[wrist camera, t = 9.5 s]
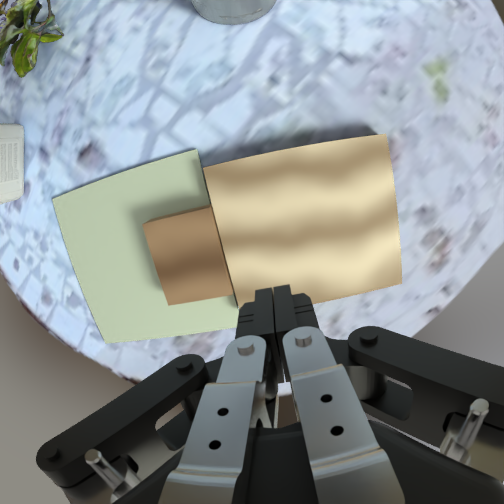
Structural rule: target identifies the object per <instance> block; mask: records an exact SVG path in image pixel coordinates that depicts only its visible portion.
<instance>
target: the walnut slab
mask: <svg viewBox="0 0 504 504" xmlns="http://www.w3.org/2000/svg"><path fill="white" fill-rule="evenodd" d="M142 226H143V229H144V233H145V236H146V239H147V243H148V246H149V249H150V252H151V256H152V259H153V262H154V265H155V268H156V271H157V274H158V277H159V280H160V283H161V286H162V289H163V292H164V295H165V297H166V300H167V303H168V306H170V305H176V304H183V303H189V302H195V301H201V300H206V299H212V298H218V297H224V296H229V295H232V293H233V289H234V288H233V284H232V280H231V277H230V273H229V269H228V265H227V261H226V258H225V254H224V250H223V246H222V242H221V239H220V235H219V231H218V227H217V223H216V219H215V215H214V211H213V207H212V204H209V205H205V206H201V207H196V208H192V209H188V210H184V211H180V212H176V213H172V214H168V215H164V216H160V217H156V218H153V219H150V220H148V221H147V222H145V223H143V224H142Z"/></svg>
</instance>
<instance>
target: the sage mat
mask: <svg viewBox="0 0 504 504" xmlns="http://www.w3.org/2000/svg"><path fill="white" fill-rule="evenodd" d="M52 200H53V204H54V208H55V211H56V215H57V219H58V222H59V225H60V229H61V232H62V235H63V238H64V241H65V244H66V248H67V251H68V253H69V256H70V259H71V262H72V265H73V268H74V270H75V273H76V276H77V278H78V281H79V284H80V286H81V289H82V291H83V294H84V296H85V299H86V301H87V303H88V306H89V308H90V310H91V313H92V315H93V317H94V320H95V322H96V324H97V326H98V328H99V330H100V333H101V335H102V337H103V339H104V341H105V343H117V342H128V341H138V340H147V339H156V338H164V337H172V336H180V335H188V334H195V333H202V332H209V331H216V330H222V329H228V328H235V327H237V323H238V315H239V310H238V306H237V302H236V299H235V295H234V291H233V293H232V295H229V296H224V297H218V298H212V299H206V300H201V301H195V302H189V303H183V304H176V305H170V306H168V303H167V300H166V297H165V295H164V292H163V289H162V286H161V283H160V280H159V277H158V274H157V271H156V268H155V265H154V262H153V259H152V256H151V252H150V249H149V246H148V243H147V239H146V236H145V233H144V229H143V226H142V224H143V223H145V222H147V221H148V220H150V219H153V218H156V217H160V216H164V215H168V214H172V213H176V212H180V211H184V210H188V209H192V208H196V207H201V206H205V205H209V204H210V200H209V196H208V192H207V187H206V183H205V179H204V175H203V171H202V167H201V163H200V159H199V155H198V150H197V149H195V150H192V151H188V152H185V153H181V154H178V155H174V156H171V157H167V158H164V159H161V160H158V161H154V162H151V163H148V164H145V165H142V166H139V167H136V168H133V169H130V170H127V171H124V172H121V173H118V174H115V175H113V176H110V177H107V178H104V179H102V180H99V181H96V182H94V183H91V184H88V185H86V186H83V187H81V188H78V189H76V190H73V191H71V192H68V193H66V194H63V195H61V196H59V197H56V198H54V199H52Z"/></svg>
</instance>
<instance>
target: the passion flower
mask: <svg viewBox="0 0 504 504" xmlns="http://www.w3.org/2000/svg"><path fill="white" fill-rule="evenodd" d="M47 2H48V10H49V15H48V18H47V19H46V20H45V21H44V22H35V19H36V16H37V14H38V13H39V11H40V9H41V8H42V5H41V4H40V3H39V1H38V0H16V1H15V2H13V3H12V4H11V8H10V9H8V11H5V6H6V5H7V3H8V0H3V1H2V2H1V3H0V16H1V15H2V14H5V16H6V17H3V18H2V19H1V20H4V19H5V20H4V21H3V22H2V23H1V24H0V64H1V65H2V66H4V65H5V64H4V62H5V58H6V53H7V49H8V48H9V45H10V44H13V45H12V47H11V51H10V53H11V56H12V59H13V61H12V63H13V65H14V67H15V69H14V70H15V71H16V72H17V74H18V75H19V77H21V78H22V77H24V76H25V75H26V74H27V73H28V72H29V71H31V70H32V69H33V68H34V67H35V64H36V61H37V53H38V44H39V41H41V42H48V43H49V42H54V41H56V40H58V39H60V38H62V36H64V34H63V33H62V31H61V29H60V28H59V26H58V25H57V23H56V21H55V16H54V15H53V13H52V11H51V5H50V0H47ZM34 23H39V24H40V25H39V26H37V27H33V26H32V25H33V24H34ZM45 24H46V25H45ZM43 25H45V27H44V29H43V30H42V31H38V30H39V28H40V27H41V26H43ZM46 29H49V30H50V31H51V30H57V31H58V32H60V33H61V35H55V34H50V33H47V32H46ZM20 33H23V35H22V36H21V38H20V39H19V40H18V41H16V40H17V39H18V36H19V34H20Z"/></svg>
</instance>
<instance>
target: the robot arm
mask: <svg viewBox="0 0 504 504" xmlns="http://www.w3.org/2000/svg"><path fill="white" fill-rule="evenodd" d="M191 2H192V4H193V6H194V8H195V9H196V11H197V12H198V13H199V14H200V15H201V16H202V17H204V18H206V19H207V20H209V21H212V22H215V23H219V24H224V25H237V24H244V23H248V22H251V21H254V20H256V19H258V18H260V17H262V16H263V15H265V14H266V13H268V12H269V10H270V9H271V8H272V7H273V6H274V4H275V2H276V0H191ZM273 292H274V294H273ZM283 369H284V372H283ZM284 374H285V379H286V382H290V384H291V389H292V395H293V400H294V405H295V409H296V414H297V419H298V422H297V423H294V424H292V425H289V426H286V427H283V428H277V416H278V400H279V399H278V394H277V393H278V383H284ZM387 377H391V378H393V379H395V380H398V381H400V382H402V383H405V384H407V385H408V386H409V387H410V388H411V389H412V390H410V389H408V388H406V387H403V386H401V385H399V384H396V383H394V382H392V381H389V380H387ZM178 403H181V405H182V407H183V409H184V410H183V411H182V412H181V413H179V414H178V415H177V416H175V417H174V418H173V419H171V420H170V421H169V422H167V423H166V424H165V425H164V426H162V427H161V428H160V429H158V430H157V431H156V429H155V424H156V421H157V420H158V419H159V418H160V417H161V416H163V415H164V414H165V413H167V412H168V411H169V410H171V409H172V408H173V407H175V406H176V405H177V404H178ZM364 412H365V413H367V414H369V415H371V416H373V417H375V418H377V419H379V420H381V421H383V422H385V423H387V424H389V425H391V426H393V427H395V428H397V429H399V430H401V431H403V432H405V433H407V434H409V435H412V436H413V437H416V438H418V439H420V440H422V441H424V442H427V443H429V444H431V445H433V446H436V447H438V448H440V452H437V451H435V450H433V449H431V448H429V447H427V446H425V445H423V444H421V443H419V442H418V441H415V440H413V439H412V438H410V437H407V436H406V435H404V434H402V433H400V432H398V431H397V430H395V429H393V428H391V427H389V426H387V425H385V424H382V423H379V422H376V421H372V420H367V418H366V415H365V413H364ZM36 462H37V465H38V466H39V468H40V469H41V470H42V471H43V472H44V473H45V474H46V475H47V476H48V477H49V478H51V479H52V480H53V482H54V483H55V484H56V485H57V486H58V487H59V488H60V489H61V490H62V491H63V492H64V493H65V495H66V497H67V498H68V500H69V502H70V504H504V485H503V484H502V483H503V481H504V367H501V366H498V365H494V364H491V363H487V362H485V361H481V360H478V359H475V358H471V357H468V356H465V355H462V354H459V353H456V352H453V351H450V350H446V349H443V348H440V347H437V346H434V345H431V344H428V343H425V342H422V341H419V340H416V339H413V338H410V337H407V336H404V335H401V334H398V333H395V332H392V331H389V330H386V329H383V328H380V327H376V326H366V327H361V328H358V329H356V330H354V331H353V332H352V333H351V334H350V335H349V337H348V340H336V339H331V338H328V337H326V336H324V334H323V332H322V331H321V330H320V329H319V325H318V322H317V318H316V315H315V312H314V308H313V305H312V301H311V298H310V297H309V296H308V295H306V294H305V293H300V294H294V295H292V294H291V288H290V284H287V285H281V286H275V287H273V289H272V287H270V288H264V289H258V290H255V301H254V302H247V303H244V305H243V306H242V307H241V308H240V309H239V315H238V323H237V329H236V336H235V340H233V341H232V342H231V343H230V344H229V345H228V346H227V348H226V351H225V354H224V356H223V357H221V358H219V359H216V360H213V361H210V362H207V363H205V361H204V359H203V358H202V357H201V356H199V355H196V354H187V355H182V356H179V357H177V358H175V359H173V360H172V361H171V362H169V363H168V364H166V365H165V366H163V367H162V368H160V369H159V370H157V371H156V372H155V373H153V374H152V375H150V376H149V377H147V378H146V379H144V380H143V381H141V382H140V383H138V384H137V385H135V386H134V387H132V388H131V389H129V390H128V391H126V392H125V393H123V394H122V395H120V396H119V397H117V398H116V399H114V400H113V401H111V402H110V403H108V404H107V405H105V406H103V407H102V408H100V409H99V410H98V411H96V412H94V413H93V414H91V415H89V416H88V417H86V418H85V419H83V420H82V421H80V422H78V423H77V424H75V425H74V426H72V427H70V428H69V429H67V430H66V431H64V432H62V433H61V434H59V435H57V436H56V437H54V438H53V439H51V440H50V441H48V442H46V443H45V444H44V445H42V447H40V449H39V450H38V452H37V456H36Z"/></svg>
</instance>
